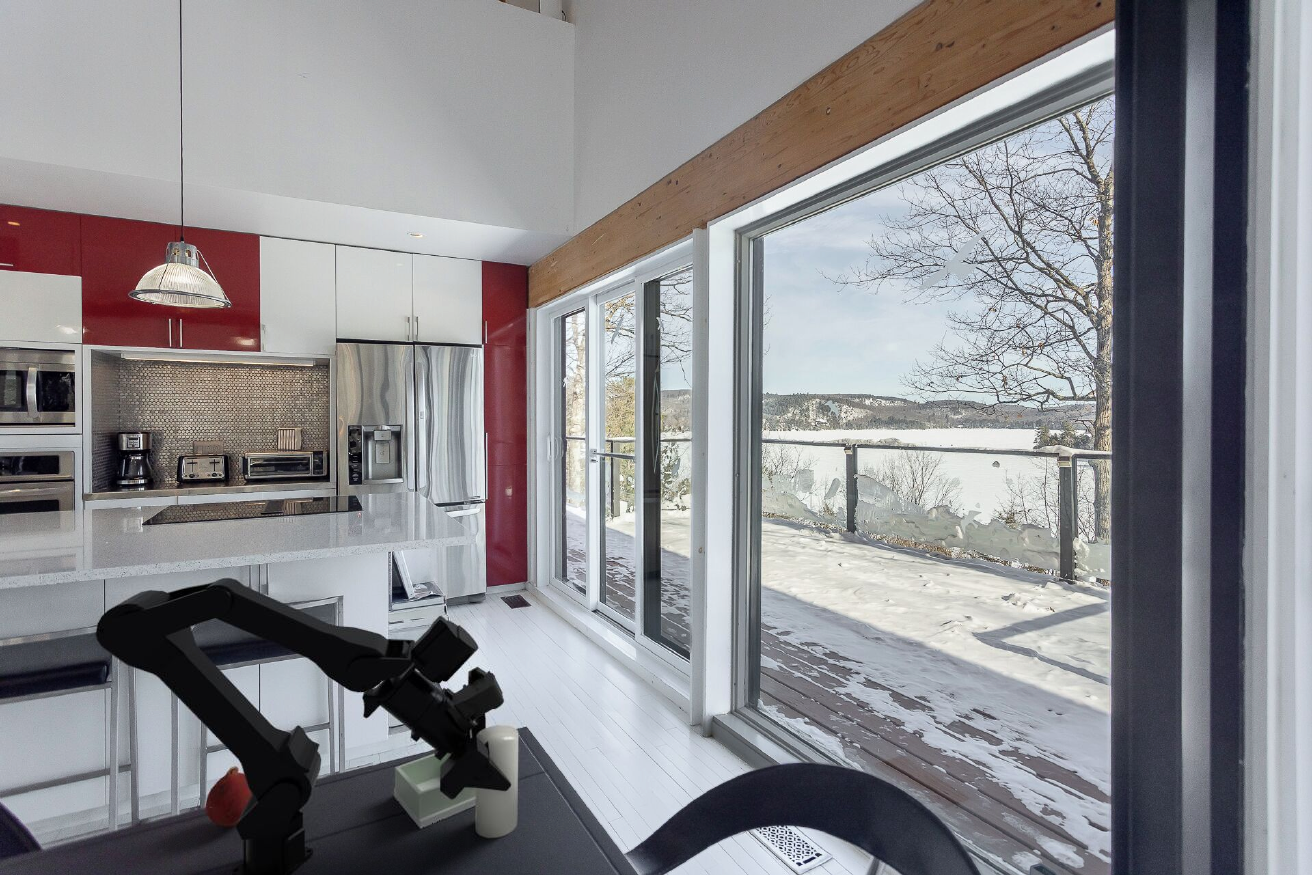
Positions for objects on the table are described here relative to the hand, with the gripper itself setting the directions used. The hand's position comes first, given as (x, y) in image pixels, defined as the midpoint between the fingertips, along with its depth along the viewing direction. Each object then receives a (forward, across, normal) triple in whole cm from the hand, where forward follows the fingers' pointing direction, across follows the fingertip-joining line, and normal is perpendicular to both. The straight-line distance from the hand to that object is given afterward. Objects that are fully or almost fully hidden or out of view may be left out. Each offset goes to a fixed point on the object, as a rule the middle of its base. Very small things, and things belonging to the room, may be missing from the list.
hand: (507, 775), depth 88 cm
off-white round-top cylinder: (+4, 0, +6) cm, 7 cm away
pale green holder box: (-1, +9, +10) cm, 14 cm away
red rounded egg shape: (-20, +10, +30) cm, 38 cm away
